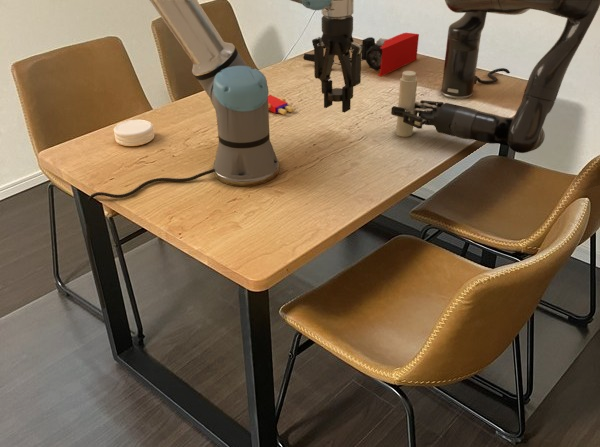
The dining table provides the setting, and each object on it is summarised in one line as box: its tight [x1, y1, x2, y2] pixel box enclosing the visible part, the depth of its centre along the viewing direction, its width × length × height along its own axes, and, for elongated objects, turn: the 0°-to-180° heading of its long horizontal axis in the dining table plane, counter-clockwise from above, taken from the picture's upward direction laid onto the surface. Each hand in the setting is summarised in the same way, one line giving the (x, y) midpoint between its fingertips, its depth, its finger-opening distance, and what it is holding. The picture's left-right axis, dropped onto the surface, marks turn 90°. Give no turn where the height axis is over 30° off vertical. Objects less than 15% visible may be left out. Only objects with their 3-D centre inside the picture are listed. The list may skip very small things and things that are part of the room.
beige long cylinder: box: [395, 70, 418, 138], centre depth 158 cm, size 4×4×16 cm
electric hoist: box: [302, 32, 420, 77], centre depth 210 cm, size 10×27×30 cm
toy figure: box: [268, 94, 294, 115], centre depth 178 cm, size 2×7×12 cm
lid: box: [327, 87, 342, 103], centre depth 157 cm, size 5×5×2 cm
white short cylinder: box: [113, 118, 155, 147], centre depth 161 cm, size 10×10×4 cm
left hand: (337, 108), depth 159 cm, fingers closed on lid, 5 cm apart
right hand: (396, 107), depth 160 cm, fingers closed on beige long cylinder, 4 cm apart
